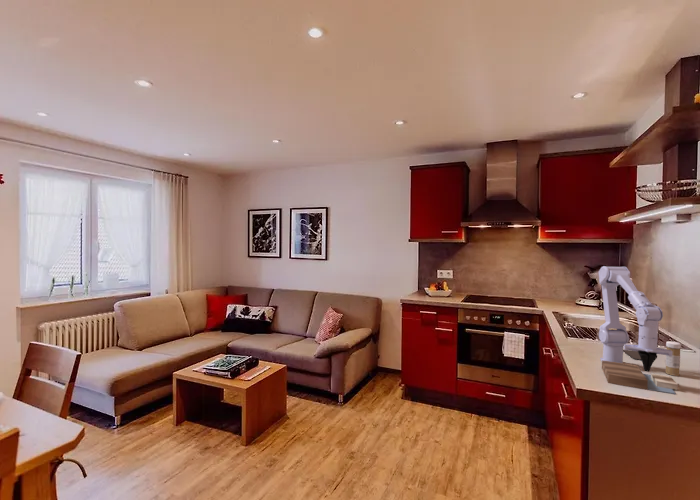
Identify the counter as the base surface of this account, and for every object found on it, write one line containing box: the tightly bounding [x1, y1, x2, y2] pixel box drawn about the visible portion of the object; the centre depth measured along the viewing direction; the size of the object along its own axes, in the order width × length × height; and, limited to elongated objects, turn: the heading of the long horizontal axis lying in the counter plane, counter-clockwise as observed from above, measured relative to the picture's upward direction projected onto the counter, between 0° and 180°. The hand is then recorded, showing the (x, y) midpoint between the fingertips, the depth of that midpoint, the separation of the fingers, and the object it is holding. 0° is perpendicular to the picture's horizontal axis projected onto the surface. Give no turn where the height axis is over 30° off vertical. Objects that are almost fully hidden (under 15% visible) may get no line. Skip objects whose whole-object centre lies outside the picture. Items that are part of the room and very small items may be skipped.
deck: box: [601, 360, 648, 390], centre depth 143 cm, size 18×12×4 cm, turn 151°
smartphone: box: [623, 349, 642, 362], centre depth 171 cm, size 7×1×15 cm
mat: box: [643, 373, 677, 395], centre depth 138 cm, size 18×8×1 cm, turn 151°
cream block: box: [650, 373, 679, 390], centre depth 136 cm, size 9×6×2 cm, turn 150°
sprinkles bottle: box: [664, 340, 682, 377], centre depth 147 cm, size 5×5×14 cm
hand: (646, 370), depth 139 cm, fingers closed
